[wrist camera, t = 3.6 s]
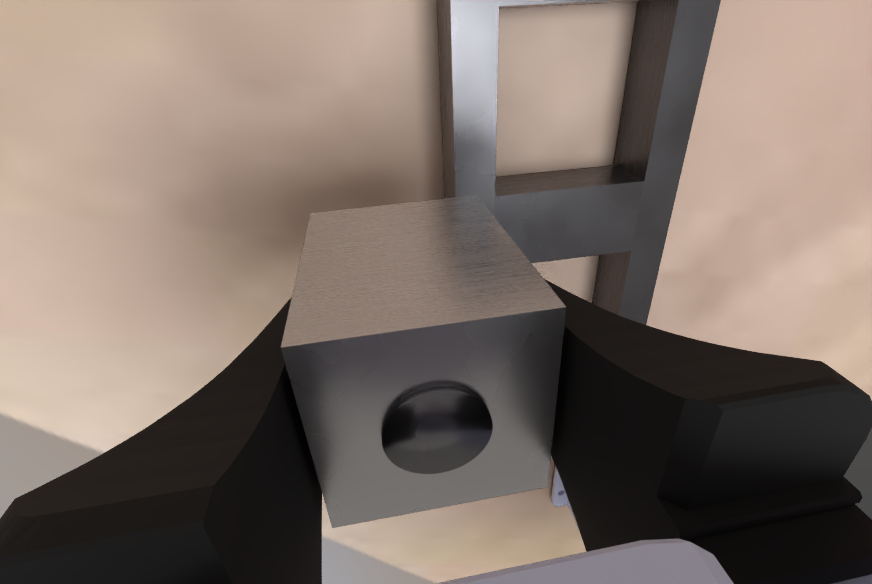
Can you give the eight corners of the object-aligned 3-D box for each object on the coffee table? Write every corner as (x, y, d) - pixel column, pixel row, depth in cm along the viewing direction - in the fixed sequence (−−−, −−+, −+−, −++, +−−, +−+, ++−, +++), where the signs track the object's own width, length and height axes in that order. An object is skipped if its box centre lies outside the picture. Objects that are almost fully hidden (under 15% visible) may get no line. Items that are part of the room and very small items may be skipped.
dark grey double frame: (609, 352, 25) (633, 380, 23) (451, 375, 24) (460, 407, 22) (685, -51, 16) (735, -64, 14) (435, -42, 15) (448, -54, 13)
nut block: (478, 329, 15) (550, 493, 9) (339, 349, 14) (332, 535, 9) (476, 195, 12) (570, 312, 7) (310, 213, 12) (279, 353, 7)
